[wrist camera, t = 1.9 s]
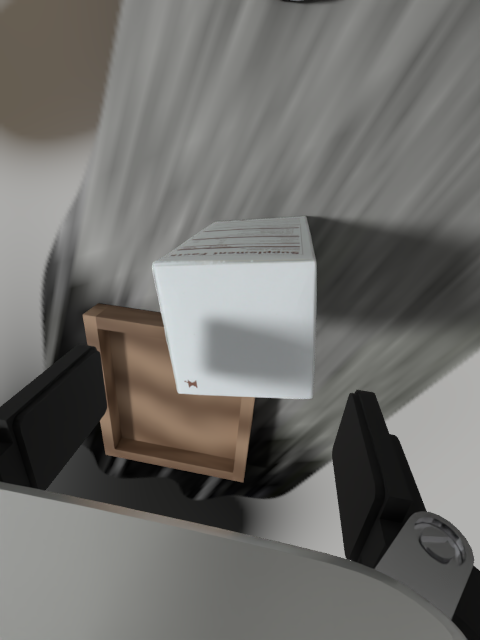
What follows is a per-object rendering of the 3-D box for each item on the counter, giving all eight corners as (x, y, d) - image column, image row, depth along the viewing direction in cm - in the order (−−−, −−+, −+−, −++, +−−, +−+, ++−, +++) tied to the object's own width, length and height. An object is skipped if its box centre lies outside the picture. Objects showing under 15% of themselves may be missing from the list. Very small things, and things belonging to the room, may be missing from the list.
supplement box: (306, 304, 27) (314, 405, 16) (221, 303, 28) (172, 398, 17) (309, 213, 23) (321, 259, 12) (213, 217, 25) (144, 263, 14)
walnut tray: (98, 303, 30) (82, 314, 28) (264, 328, 28) (262, 342, 26) (116, 437, 38) (105, 454, 36) (246, 462, 37) (243, 482, 34)
